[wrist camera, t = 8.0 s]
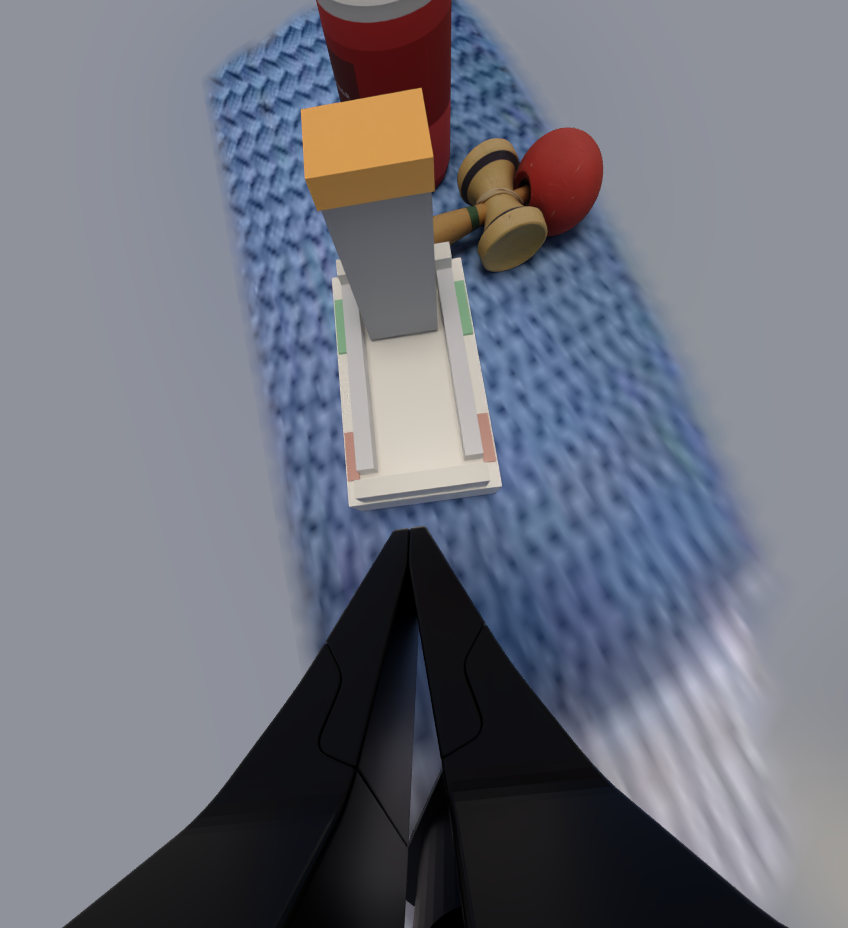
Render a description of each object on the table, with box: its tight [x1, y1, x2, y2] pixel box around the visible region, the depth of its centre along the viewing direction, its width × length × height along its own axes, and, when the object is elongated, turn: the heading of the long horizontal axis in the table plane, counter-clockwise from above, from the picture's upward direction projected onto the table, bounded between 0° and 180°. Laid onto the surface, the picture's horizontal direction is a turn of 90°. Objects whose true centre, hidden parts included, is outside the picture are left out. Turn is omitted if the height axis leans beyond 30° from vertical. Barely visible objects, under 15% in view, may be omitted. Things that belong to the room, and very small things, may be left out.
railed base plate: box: [332, 242, 502, 511], centre depth 22 cm, size 16×9×5 cm, turn 8°
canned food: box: [316, 0, 451, 188], centre depth 24 cm, size 8×8×11 cm
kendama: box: [433, 128, 603, 272], centre depth 25 cm, size 8×6×18 cm
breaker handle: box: [301, 88, 438, 340], centre depth 17 cm, size 3×5×10 cm
